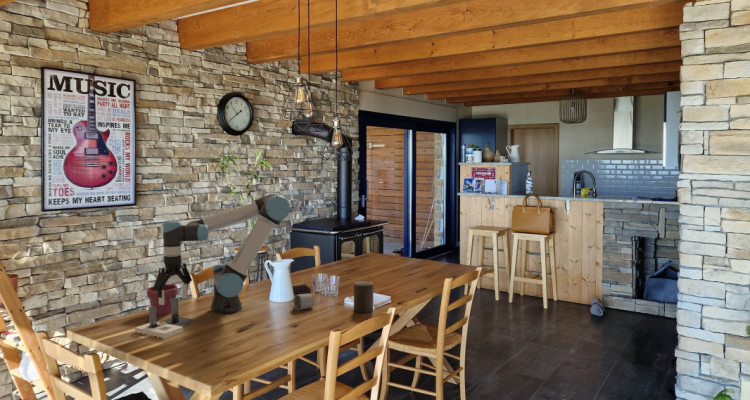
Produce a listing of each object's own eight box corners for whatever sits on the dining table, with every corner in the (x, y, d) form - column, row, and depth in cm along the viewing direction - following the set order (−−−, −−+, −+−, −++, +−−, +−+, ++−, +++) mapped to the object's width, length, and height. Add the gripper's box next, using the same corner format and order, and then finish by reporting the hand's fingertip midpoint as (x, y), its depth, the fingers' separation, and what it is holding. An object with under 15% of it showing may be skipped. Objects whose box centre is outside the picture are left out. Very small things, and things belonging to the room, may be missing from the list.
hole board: (154, 326, 238) (154, 321, 238) (183, 332, 230) (183, 326, 230) (135, 333, 229) (134, 327, 229) (164, 339, 221) (164, 333, 221)
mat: (176, 317, 252) (176, 316, 252) (198, 320, 246) (198, 320, 246) (152, 325, 240) (152, 324, 240) (174, 329, 234) (174, 328, 234)
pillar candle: (361, 314, 254) (361, 283, 253) (349, 309, 262) (350, 279, 261) (377, 311, 260) (377, 281, 259) (365, 306, 268) (366, 277, 267)
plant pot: (143, 313, 259) (141, 287, 258) (171, 307, 269) (170, 282, 268) (155, 319, 249) (154, 292, 248) (183, 313, 259) (182, 287, 258)
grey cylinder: (315, 308, 265) (315, 293, 264) (301, 311, 259) (301, 296, 259) (304, 304, 273) (303, 290, 272) (290, 307, 268) (290, 292, 267)
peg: (175, 320, 245) (174, 297, 244) (180, 321, 244) (179, 298, 243) (170, 322, 242) (169, 299, 242) (175, 323, 241) (174, 299, 240)
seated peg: (154, 330, 233) (153, 305, 232) (158, 331, 232) (157, 306, 231) (148, 332, 230) (147, 307, 230) (153, 333, 229) (152, 308, 228)
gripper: (187, 250, 253) (188, 293, 255) (143, 258, 231) (145, 306, 233) (199, 251, 250) (200, 295, 252) (155, 260, 228) (157, 308, 229)
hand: (173, 301), depth 242 cm, fingers open, 13 cm apart
